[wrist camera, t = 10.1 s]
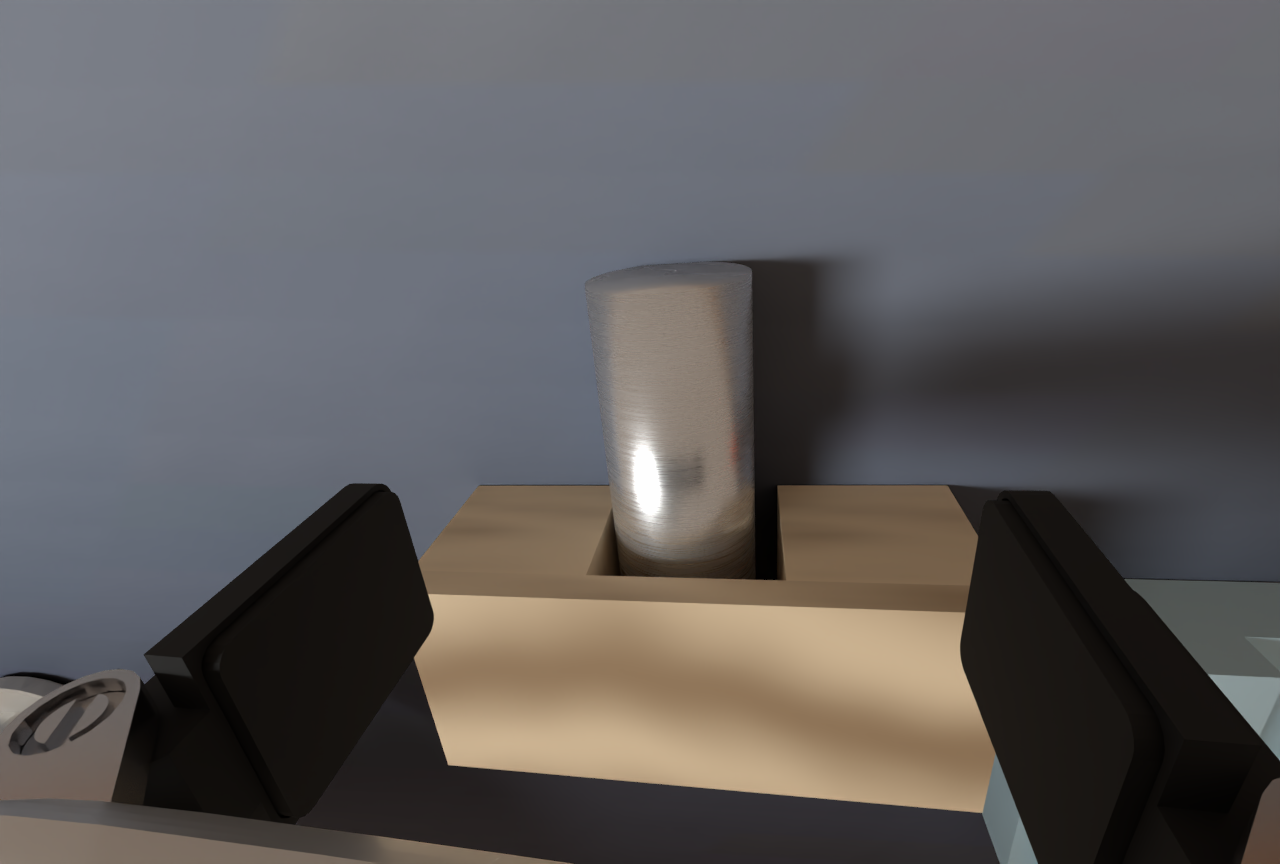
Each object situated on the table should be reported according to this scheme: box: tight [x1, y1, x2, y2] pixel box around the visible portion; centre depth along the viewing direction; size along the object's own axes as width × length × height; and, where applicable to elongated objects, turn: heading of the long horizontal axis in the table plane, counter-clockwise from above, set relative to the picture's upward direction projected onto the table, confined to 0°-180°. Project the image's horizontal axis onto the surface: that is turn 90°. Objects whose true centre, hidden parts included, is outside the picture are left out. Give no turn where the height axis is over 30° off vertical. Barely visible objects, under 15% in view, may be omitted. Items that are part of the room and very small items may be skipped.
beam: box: [414, 485, 995, 813], centre depth 19 cm, size 7×16×6 cm, turn 95°
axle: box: [585, 262, 756, 580], centre depth 19 cm, size 15×4×4 cm, turn 5°
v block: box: [982, 579, 1280, 864], centre depth 20 cm, size 12×12×4 cm
